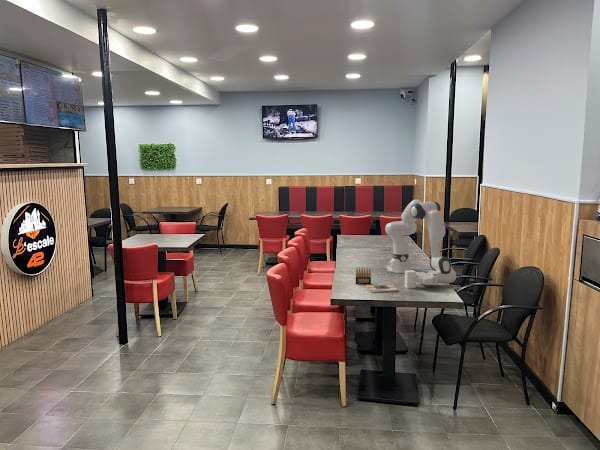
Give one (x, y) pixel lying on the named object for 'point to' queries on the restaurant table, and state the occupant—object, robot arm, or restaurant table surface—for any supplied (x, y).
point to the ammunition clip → (363, 276)
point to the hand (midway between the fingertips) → (412, 278)
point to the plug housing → (410, 279)
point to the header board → (381, 288)
